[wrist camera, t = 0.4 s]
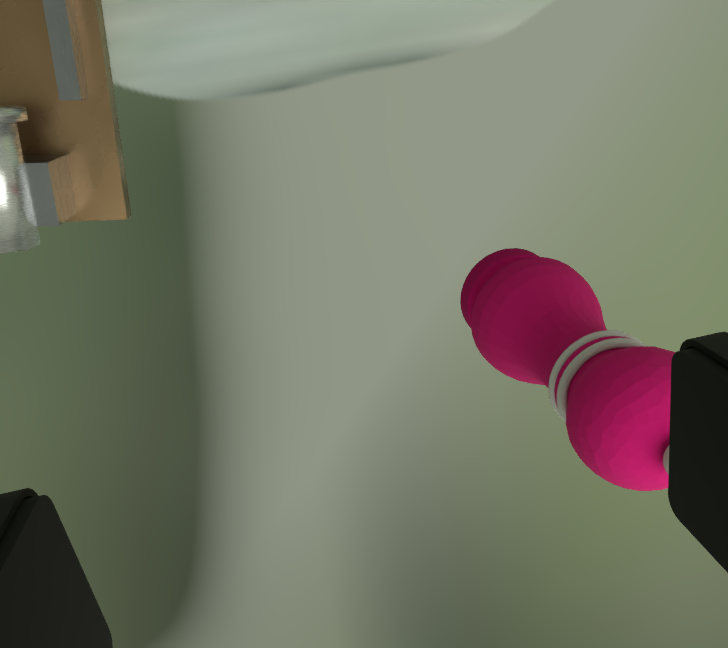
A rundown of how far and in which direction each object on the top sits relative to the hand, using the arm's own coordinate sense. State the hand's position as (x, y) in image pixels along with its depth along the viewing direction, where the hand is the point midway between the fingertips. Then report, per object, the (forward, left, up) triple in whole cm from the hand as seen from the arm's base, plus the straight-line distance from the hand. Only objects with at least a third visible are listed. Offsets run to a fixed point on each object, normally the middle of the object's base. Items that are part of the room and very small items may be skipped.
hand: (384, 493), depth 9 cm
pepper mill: (+8, +13, -30) cm, 33 cm away
